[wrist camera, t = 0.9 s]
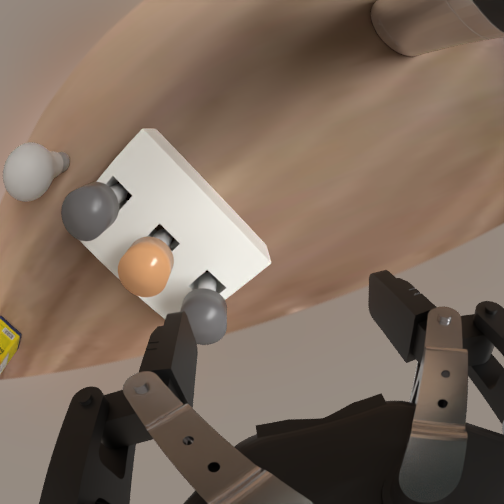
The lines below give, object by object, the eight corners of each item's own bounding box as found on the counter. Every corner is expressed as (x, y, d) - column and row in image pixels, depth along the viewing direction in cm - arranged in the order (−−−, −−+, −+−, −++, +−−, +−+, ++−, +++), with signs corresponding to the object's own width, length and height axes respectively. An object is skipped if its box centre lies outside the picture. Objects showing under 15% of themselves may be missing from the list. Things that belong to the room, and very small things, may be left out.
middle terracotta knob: (162, 209, 29) (138, 238, 21) (191, 238, 31) (178, 276, 23) (136, 236, 30) (108, 272, 22) (164, 263, 32) (145, 306, 24)
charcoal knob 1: (118, 163, 27) (79, 177, 19) (145, 192, 28) (115, 215, 20) (94, 193, 28) (53, 215, 20) (120, 220, 29) (86, 251, 21)
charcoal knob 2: (208, 255, 32) (201, 297, 24) (235, 281, 33) (236, 327, 25) (181, 279, 32) (167, 324, 25) (208, 303, 34) (202, 351, 26)
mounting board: (155, 128, 29) (142, 128, 24) (266, 245, 35) (271, 263, 31) (83, 212, 32) (64, 224, 27) (186, 309, 38) (181, 332, 34)
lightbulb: (92, 168, 30) (41, 187, 20) (59, 193, 31) (7, 219, 20) (72, 127, 28) (17, 132, 17) (41, 154, 28) (-15, 169, 18)
